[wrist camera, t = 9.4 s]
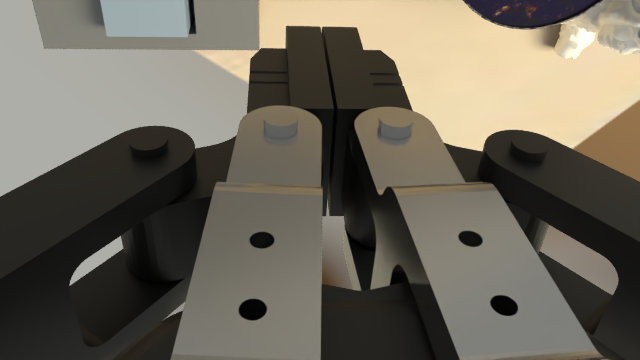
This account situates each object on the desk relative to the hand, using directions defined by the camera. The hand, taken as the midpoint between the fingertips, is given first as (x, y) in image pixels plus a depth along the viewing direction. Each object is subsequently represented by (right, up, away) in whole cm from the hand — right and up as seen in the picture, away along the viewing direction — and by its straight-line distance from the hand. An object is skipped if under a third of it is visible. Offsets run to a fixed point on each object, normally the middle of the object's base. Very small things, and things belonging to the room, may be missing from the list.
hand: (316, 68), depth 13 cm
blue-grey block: (-11, +11, +26) cm, 30 cm away
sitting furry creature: (+18, +12, +30) cm, 37 cm away
